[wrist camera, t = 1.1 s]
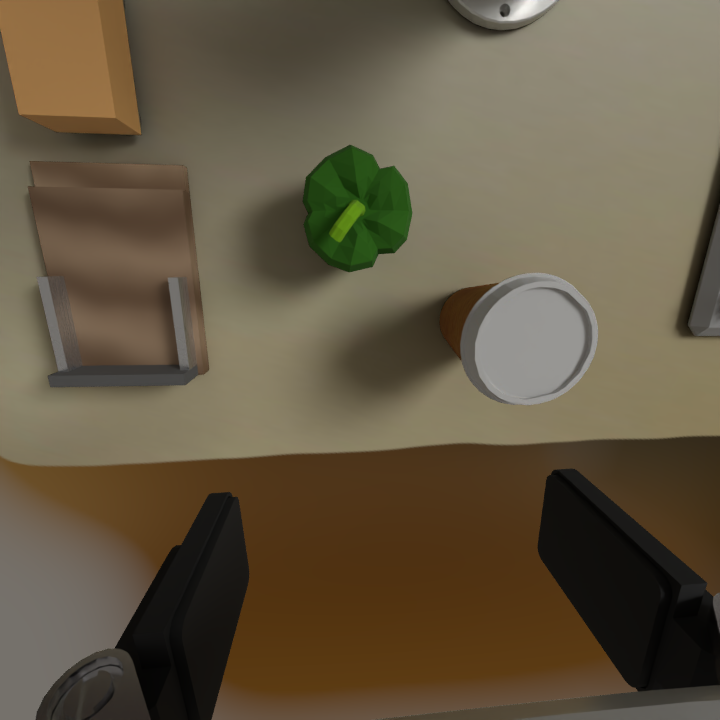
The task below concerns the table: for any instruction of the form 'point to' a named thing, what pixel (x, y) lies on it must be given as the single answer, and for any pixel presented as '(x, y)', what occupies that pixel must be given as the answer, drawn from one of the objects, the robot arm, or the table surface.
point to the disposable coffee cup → (521, 337)
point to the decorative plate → (708, 290)
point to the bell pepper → (355, 209)
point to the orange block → (71, 64)
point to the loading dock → (119, 273)
